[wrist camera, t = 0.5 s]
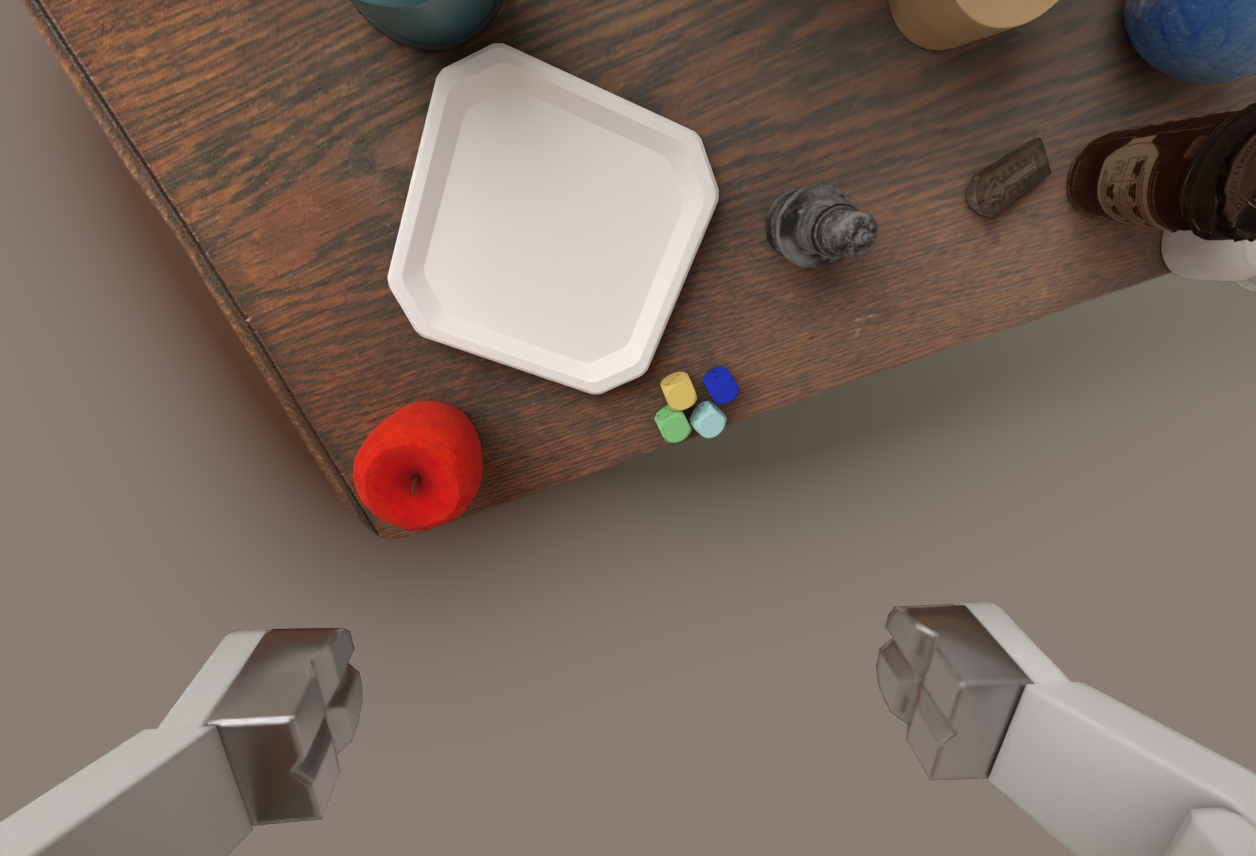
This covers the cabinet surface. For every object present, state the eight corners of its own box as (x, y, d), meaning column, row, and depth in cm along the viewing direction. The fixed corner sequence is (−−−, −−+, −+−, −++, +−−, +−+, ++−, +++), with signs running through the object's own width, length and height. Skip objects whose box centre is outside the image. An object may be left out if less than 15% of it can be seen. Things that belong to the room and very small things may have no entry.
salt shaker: (844, 241, 48) (927, 260, 37) (776, 274, 48) (838, 304, 37) (821, 168, 45) (902, 166, 34) (750, 204, 46) (808, 214, 35)
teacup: (1309, 157, 43) (1232, 159, 48) (1210, 233, 44) (1146, 228, 49) (1345, 262, 46) (1270, 254, 51) (1252, 329, 48) (1188, 315, 53)
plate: (383, 315, 46) (375, 322, 44) (455, 25, 40) (449, 17, 38) (629, 399, 51) (632, 409, 49) (732, 152, 44) (740, 151, 42)
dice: (747, 384, 52) (693, 339, 49) (756, 395, 49) (700, 347, 47) (685, 450, 54) (631, 409, 51) (691, 463, 51) (634, 421, 49)
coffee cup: (1064, 253, 50) (1221, 277, 38) (1035, 161, 47) (1196, 156, 35) (1165, 190, 48) (1361, 196, 36) (1142, 92, 45) (1347, 62, 33)
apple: (397, 480, 52) (357, 551, 42) (375, 385, 49) (326, 439, 39) (500, 471, 53) (484, 539, 43) (485, 376, 49) (464, 427, 39)
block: (1050, 136, 44) (1032, 134, 46) (972, 183, 45) (958, 179, 47) (1056, 181, 46) (1039, 176, 47) (982, 224, 47) (968, 219, 48)
